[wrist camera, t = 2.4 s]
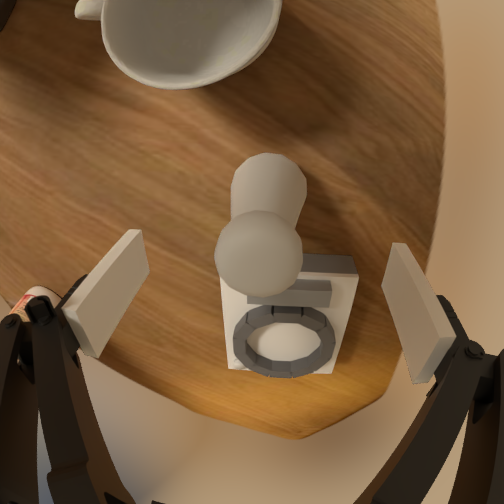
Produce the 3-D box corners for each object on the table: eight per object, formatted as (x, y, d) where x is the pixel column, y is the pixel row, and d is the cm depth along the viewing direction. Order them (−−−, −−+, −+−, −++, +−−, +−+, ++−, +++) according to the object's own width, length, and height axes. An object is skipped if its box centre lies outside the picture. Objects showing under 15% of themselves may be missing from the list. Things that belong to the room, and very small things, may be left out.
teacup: (305, -4, 16) (315, -41, 9) (245, 107, 22) (227, 118, 15) (151, -46, 14) (106, -77, 7) (102, 57, 20) (43, 59, 13)
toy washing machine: (226, 249, 29) (216, 281, 25) (352, 255, 28) (362, 288, 24) (232, 346, 36) (226, 378, 32) (329, 351, 35) (332, 383, 31)
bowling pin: (310, 151, 23) (334, 222, 12) (300, 215, 26) (308, 322, 15) (237, 143, 23) (193, 205, 12) (233, 206, 26) (196, 308, 15)
